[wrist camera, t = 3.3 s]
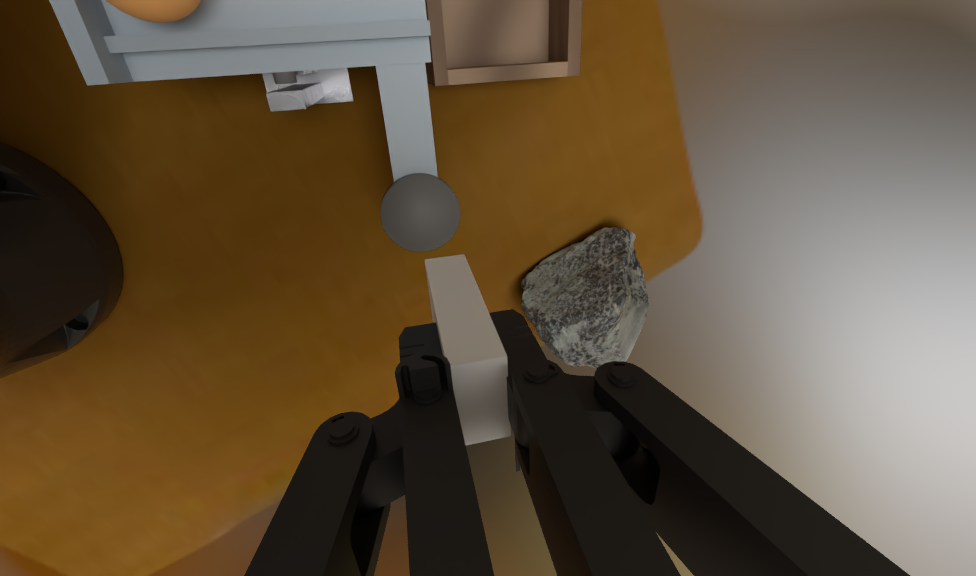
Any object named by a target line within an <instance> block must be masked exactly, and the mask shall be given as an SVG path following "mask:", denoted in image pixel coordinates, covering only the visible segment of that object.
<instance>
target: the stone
mask: <svg viewBox="0 0 976 576" xmlns="http://www.w3.org/2000/svg"><path fill="white" fill-rule="evenodd" d="M635 237H636V236H635V234H634V233H632V232H631V231H629V230H627V229H624V228H618V227H614V228H607V227H605V228H603V229H601V230H598V231H596V232H594V233H593V234H592V235H590V236H588V237H587V238H586V239H585V240H584V241H583V242H581V243H575V244H571V246H569V247H566V248H565V249H562V250H560V251H558V252H557V253H555V254H553V255H551V256H549V257H547V258H546V259H544V260H543V261H541V262H540V264H539V265H537V266H536V267H535V269H534V270H533V271H532V272H530V273H528V274H527V276H526V277H525V278H524V279H522V282H521V285H522V288H523V294H522V296H521V302H522V308H523V310H524V312H525V314H526V316H527V318H528V319H529V320H530V321H531V322H532V324H533V325H534V326H535V327H536V330H537V333H538V335H539V336H540V338H541V339H542V340H543V341H544V342H545V344H546V345H547V346H548V347H549V348H550V350H551V351H552V352H553V353H554V354H555V355H556V356H557V357H559V358H560V359H562V360H563V361H564V362H565V363H566V364H568V365H570V366H571V367H574V366H577V367H578V366H584V365H587V366H590V367H592V368H598V367H599V366H601V365H602V364H604V363H607V362H612V361H624V362H625V361H626V360H627V359H628V357H629V355H630V353H631V351H632V348H633V347H634V344H635V342H636V340H637V338H638V336H639V333H640V331H641V328H642V326H643V323H644V321H645V318H646V312H647V308H648V295H647V293H646V286H645V280H644V279H645V274H644V272H643V271H642V268H641V266H640V263H639V261H638V259H637V258H636V254H635V253H636V251H635V250H634V246H633V242H634V240H635Z"/></svg>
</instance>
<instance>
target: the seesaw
mask: <svg viewBox="0 0 976 576" xmlns="http://www.w3.org/2000/svg"><path fill="white" fill-rule="evenodd" d="M49 1H50V3H51V5H52V8H53V10H54V12H55V14H56V17H57V19H58V21H59V23H60V26H61V28H62V30H63V32H64V34H65V37H66V39H67V41H68V43H69V46H70V48H71V50H72V52H73V55H74V57H75V59H76V61H77V64H78V66H79V68H80V70H81V73H82V75H83V77H84V79H85V81H86V84H87V85H101V84H115V83H126V82H138V81H153V80H168V79H183V78H198V77H214V76H229V75H244V74H259V73H273V77H274V81H275V84H289V83H297V78H296V74H295V71H305V70H320V69H335V68H350V67H366V66H376V72H377V78H378V84H379V90H380V97H381V103H382V109H383V116H384V122H385V128H386V135H387V141H388V147H389V153H390V160H391V166H392V172H393V179H394V183H393V184H391V186H390V187H389V188H388V189H387V191H386V192H385V194H384V196H383V199H382V203H381V221H382V225H383V227H384V230H385V232H386V233H387V235H388V236H389V238H390V239H391V240H392V241H393V242H395V243H396V244H397V245H399V246H400V247H402V248H404V249H407V250H410V251H416V252H425V251H431V250H434V249H437V248H439V247H441V246H442V245H444V244H445V243H446V242H448V241H449V240H450V239H451V238H452V236H453V235H454V234H455V232H456V230H457V228H458V225H459V221H460V206H459V202H458V200H457V197H456V195H455V194H454V192H453V190H452V189H451V188H450V186H449V185H448V184H447V183H446V182H444V181H443V180H442V179H440V178H438V174H437V165H436V156H435V147H434V138H433V129H432V120H431V111H430V102H429V93H428V84H427V75H426V66H425V63H426V62H431V53H430V44H429V36H431V31H430V22H429V20H427V15H426V5H425V0H201V1H200V3H199V5H198V6H197V8H196V9H195V10H194V11H193V12H192V13H191V14H189V15H188V16H186V17H184V18H182V19H180V20H177V21H173V22H166V23H162V22H150V21H145V20H142V19H138V18H136V17H133V16H131V15H128V14H126V13H124V12H122V11H120V10H119V9H117V8H116V7H114V6H113V5H111V4H110V3H108V2H107V1H106V0H49Z"/></svg>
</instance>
